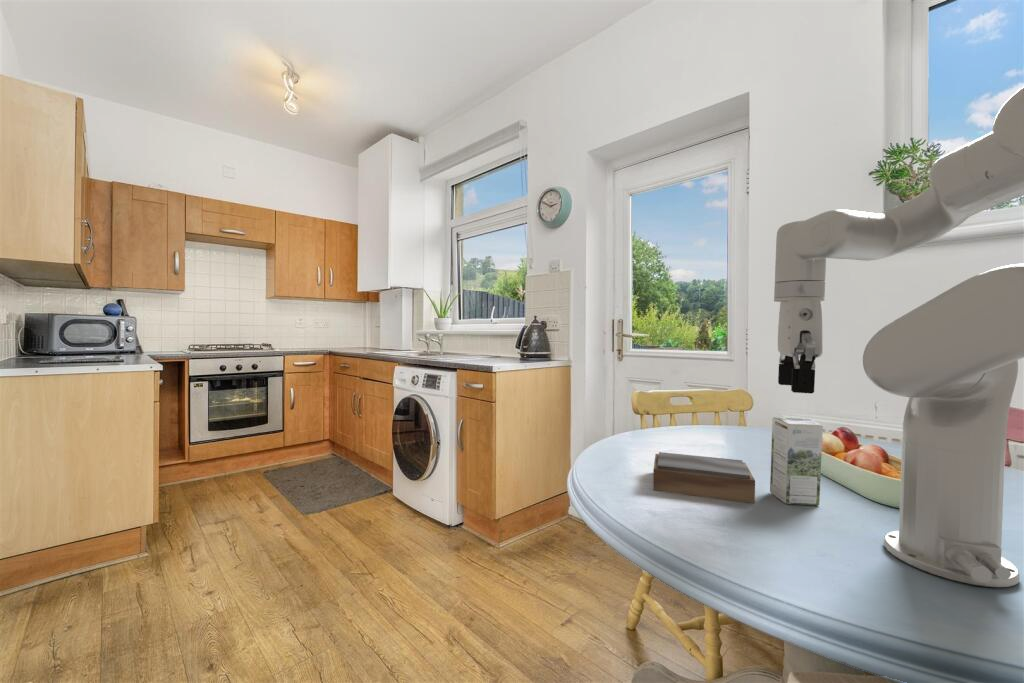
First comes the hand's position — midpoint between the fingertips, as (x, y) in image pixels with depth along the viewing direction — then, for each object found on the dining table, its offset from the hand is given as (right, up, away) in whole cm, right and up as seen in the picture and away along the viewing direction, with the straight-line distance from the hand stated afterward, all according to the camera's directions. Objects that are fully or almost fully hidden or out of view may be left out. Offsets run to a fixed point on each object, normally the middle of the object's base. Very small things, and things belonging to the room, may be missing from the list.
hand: (794, 388), depth 78 cm
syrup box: (0, -20, 0) cm, 20 cm away
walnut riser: (-14, -20, +7) cm, 25 cm away
